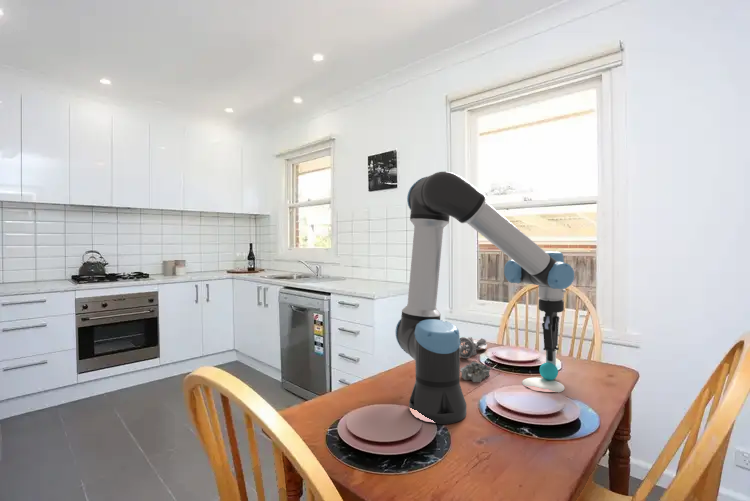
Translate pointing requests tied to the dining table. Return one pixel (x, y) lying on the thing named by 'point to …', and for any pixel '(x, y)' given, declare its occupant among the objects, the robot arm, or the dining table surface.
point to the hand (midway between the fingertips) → (551, 369)
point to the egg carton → (479, 374)
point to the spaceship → (471, 346)
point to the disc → (544, 384)
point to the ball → (548, 371)
